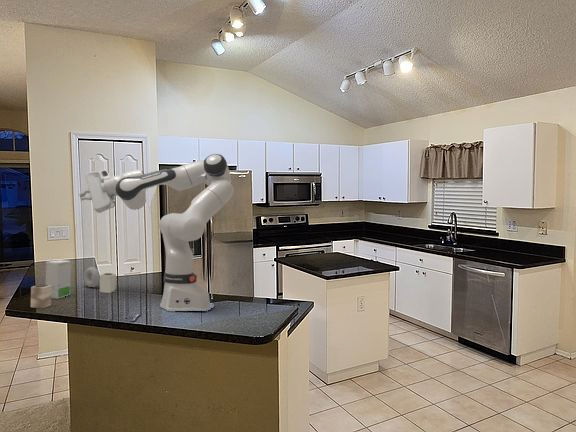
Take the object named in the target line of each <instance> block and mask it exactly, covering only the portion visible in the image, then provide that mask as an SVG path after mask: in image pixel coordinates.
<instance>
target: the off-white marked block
mask: <svg viewBox="0 0 576 432" xmlns="http://www.w3.org/2000/svg"><path fill="white" fill-rule="evenodd" d="M116 279H117V273H110V272H107V273H103V274H100V281H99V293H108V294H111V293H113V292H115V291H116V285H117V284H116V282H117V281H116Z"/></svg>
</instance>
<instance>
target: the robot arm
mask: <svg viewBox="0 0 576 432" xmlns="http://www.w3.org/2000/svg"><path fill="white" fill-rule="evenodd" d="M84 177H85V181H86V184H87V188H86V189H84V191H82V192H80V193H78V194H79V195H78V196H79V198H80V201H85V200H87V201H91V202H92V205H93V208H94V209H93V210H94V211H95V213H97V214H98V213H99V214H100V213H103V212H105V211H107V210H109V209H112V208H114V207H116V200H115V199H116V198H115V197H116V196H118V197H119V198H120V199H121V201H122V202H123V204H125V206H126V207H127V208H128V209H130V210H135V211H136V210H140V209H141V208H143V207H144V206H145V204H146V202H147V195H146V193H147V192H146V191H147V189H149V188H153V187H154V188H155V187H156V186H161V185H165V186H167V187H170V188H171V189H174V190H175V191H179V192H181V191H186V190H189V189H191V188H194V187H196V186H198V185H202V184H204V185H206V187H205V188H204V189H203V190H202V191H201V192H199V193H198V194H197V195H196V196H195V197H194V198H193V199H192V200H191V201H190V205H189V206H188V208H186V210H185V211H184V212H182V213H179V212H178V213H177V212H171V213H167V214H166V215H163V216H162V217H161V219H160V220H159V223H158V228H159V231H160V232H161V234H162V240H163V244H164V248H165V271H164V274H163V293H162V298H161V301H160V304H159V307H160V308H161V309H164V310H165V311H166V312H175V311H184V310H206V309H205V308H208V307H210V302H211V300H210V293H209V292H208V290H207V289H205V287H203V286H202V285H201V284H199V282H198V281H197V278H198V274H195V273H194V272H193V269H194V268H193V267H194V264H193V263H194V254H193V251H192V250H191V247H190V243H189V242H194V241H197V240H199V239H200V238H201V237H203V234H204V231H205V226H206V225H207V224H208V222H209V221H210V220H211V218H212V217H213V216H214V215H216V214H217V213H218V212H219V211H220V210H221V209H222V208H223V207H224V206H225V205H226V204H227V203H228V202H229V200H231V198H232V196H233V195H234V193H235V188H234V186H233V182H232V178H231V171H230V169H229V166H228V163H227V160H226V159H225V156H223V155H222V154H218V153H213V154H210V155H208V156H206V157H205V159H204V160H197V161H193V162H189V163H186V164H183V165H180V166H178V167H173V168H165V169H160V170H156V171H151V172H149V173H144V171H143V170H141V169H132V170H129V171H126V172H123V173H121V174H118V175H111V174H110V173H109V172H108V170H107V169H105V168H103V169H101V170H94V171H90V172H87V173H86V174H85V175H84ZM88 194H89V195H88ZM86 195H87V196H86Z"/></svg>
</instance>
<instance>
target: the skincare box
mask: <svg viewBox="0 0 576 432" xmlns="http://www.w3.org/2000/svg"><path fill="white" fill-rule="evenodd" d="M71 275H72V260H63V259H59V260H50V261H45V285H52V290H51V300H52V299H55V300H58V299H62V298H65V296H66V297H69V296H68V295H70V296H71Z"/></svg>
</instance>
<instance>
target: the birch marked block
mask: <svg viewBox="0 0 576 432" xmlns="http://www.w3.org/2000/svg"><path fill="white" fill-rule="evenodd" d="M51 290H52V285H46V284H37V285H33V286H31V287H30V308H35V309H45V308H47V307H50V306H52V298H51Z"/></svg>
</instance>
